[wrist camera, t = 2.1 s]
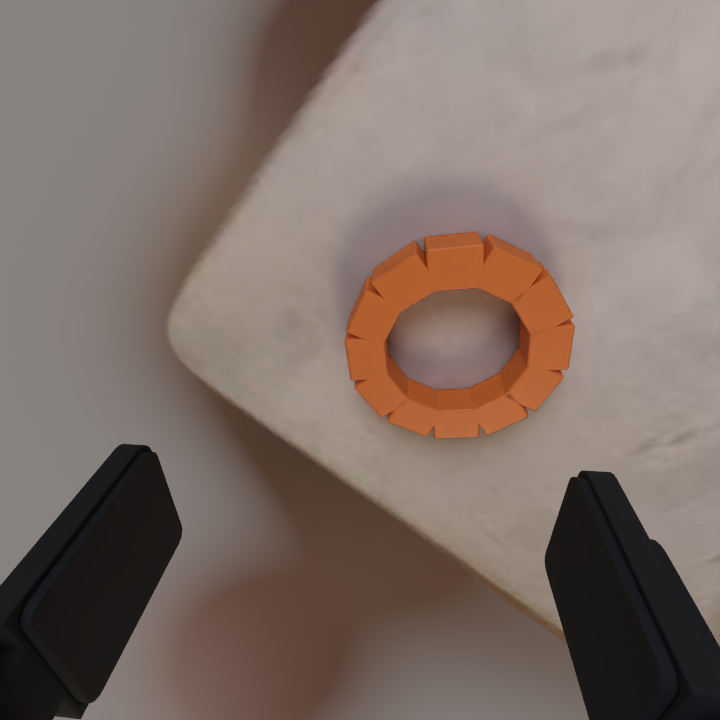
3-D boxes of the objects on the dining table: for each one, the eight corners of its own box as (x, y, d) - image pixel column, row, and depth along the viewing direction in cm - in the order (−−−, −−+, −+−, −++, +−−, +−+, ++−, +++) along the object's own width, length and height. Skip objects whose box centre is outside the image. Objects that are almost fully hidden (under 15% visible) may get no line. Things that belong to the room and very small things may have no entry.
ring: (309, 312, 16) (301, 329, 15) (496, 184, 13) (505, 193, 12) (420, 442, 19) (422, 465, 18) (594, 359, 16) (609, 381, 15)
